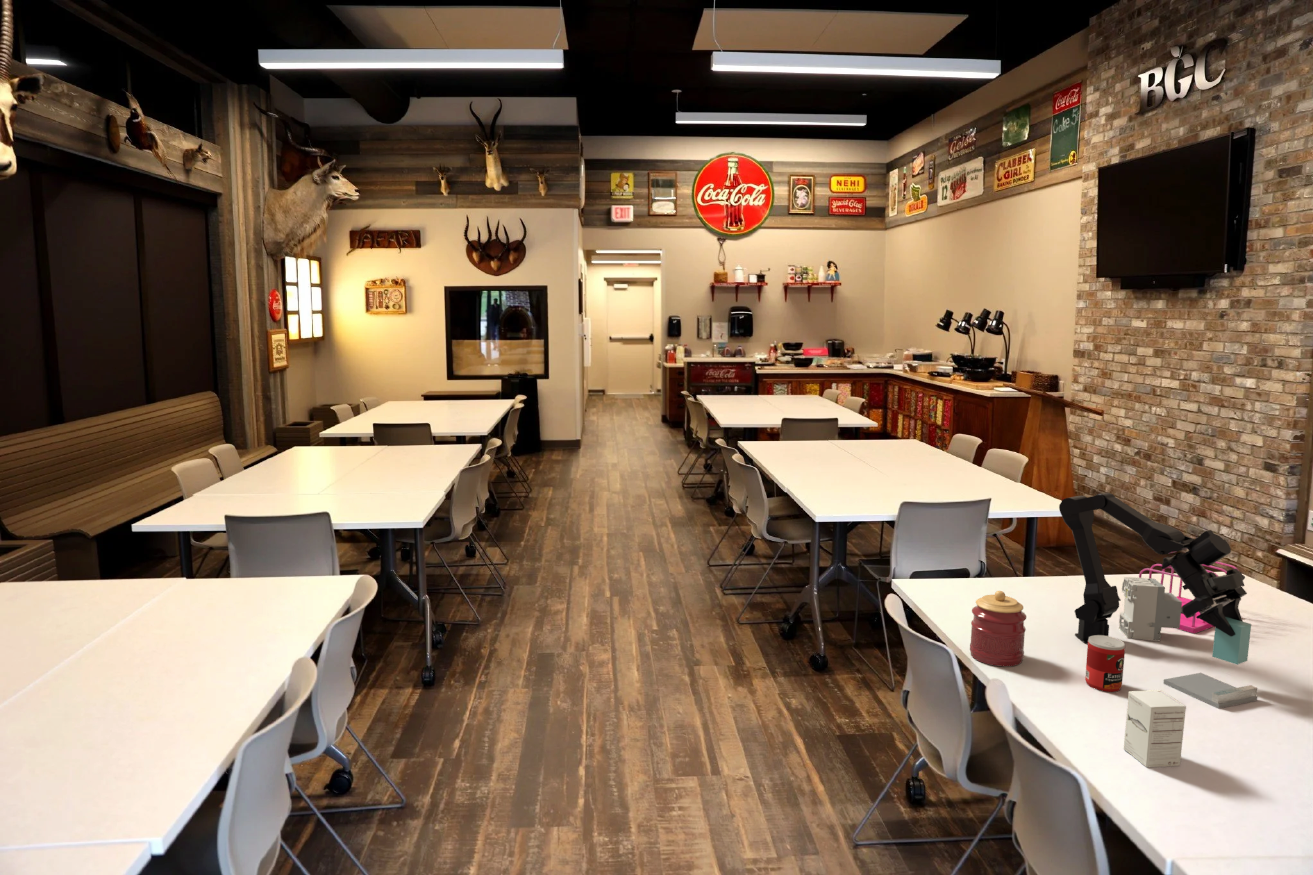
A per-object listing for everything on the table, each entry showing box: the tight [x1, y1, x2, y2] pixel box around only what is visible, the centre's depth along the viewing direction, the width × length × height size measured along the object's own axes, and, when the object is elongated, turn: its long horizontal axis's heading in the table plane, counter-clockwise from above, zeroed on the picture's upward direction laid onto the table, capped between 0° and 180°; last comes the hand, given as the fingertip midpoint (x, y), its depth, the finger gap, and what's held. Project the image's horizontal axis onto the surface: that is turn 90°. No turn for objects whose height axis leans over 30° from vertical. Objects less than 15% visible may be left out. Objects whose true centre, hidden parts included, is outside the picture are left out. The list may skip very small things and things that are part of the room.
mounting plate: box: [1163, 672, 1258, 709], centre depth 201 cm, size 14×12×3 cm
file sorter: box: [1138, 561, 1240, 634], centre depth 251 cm, size 17×25×16 cm
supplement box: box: [1123, 689, 1187, 768], centre depth 171 cm, size 7×7×13 cm
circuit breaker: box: [1118, 576, 1183, 641], centre depth 236 cm, size 8×14×15 cm, turn 78°
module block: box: [1211, 617, 1252, 665], centre depth 203 cm, size 6×4×9 cm
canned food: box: [1084, 635, 1126, 693], centre depth 204 cm, size 8×8×11 cm
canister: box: [969, 590, 1027, 667], centre depth 220 cm, size 13×13×18 cm
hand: (1238, 633), depth 202 cm, fingers closed on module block, 4 cm apart
